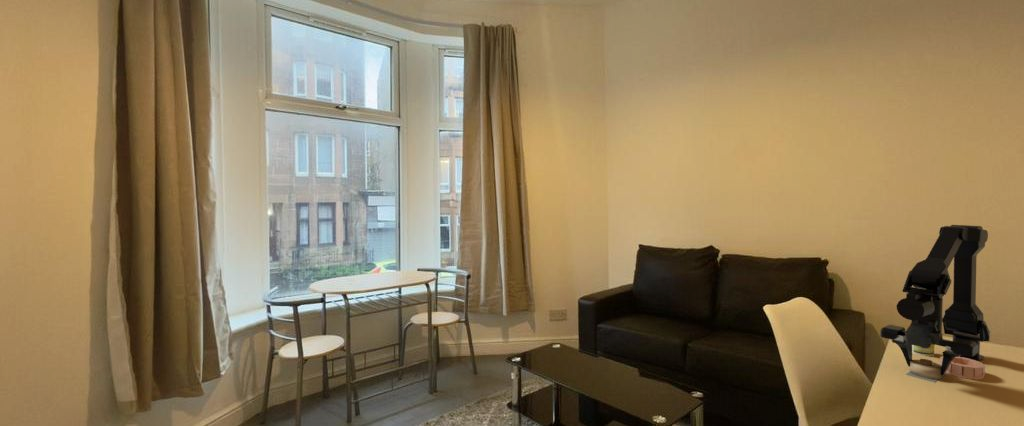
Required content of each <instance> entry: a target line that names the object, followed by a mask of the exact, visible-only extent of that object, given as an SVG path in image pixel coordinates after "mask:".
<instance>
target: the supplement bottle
mask: <svg viewBox="0 0 1024 426" xmlns="http://www.w3.org/2000/svg"><path fill="white" fill-rule="evenodd" d="M912 354H915V355H919V356H925V357H933V356H935V345H933V344H931V346H930V347H929V348H922V347H920V346H916V345H912Z"/></svg>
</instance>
